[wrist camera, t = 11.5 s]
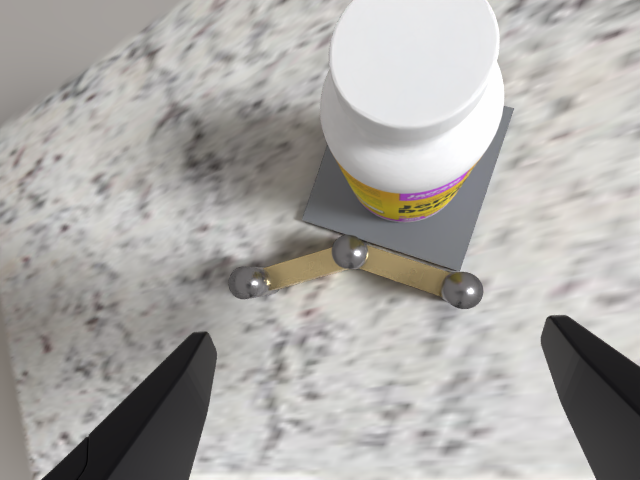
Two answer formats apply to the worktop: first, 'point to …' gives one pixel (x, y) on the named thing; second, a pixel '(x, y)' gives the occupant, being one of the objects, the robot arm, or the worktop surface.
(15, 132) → the worktop surface
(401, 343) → the worktop surface
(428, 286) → the bent rail
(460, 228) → the slate coaster
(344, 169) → the supplement bottle
